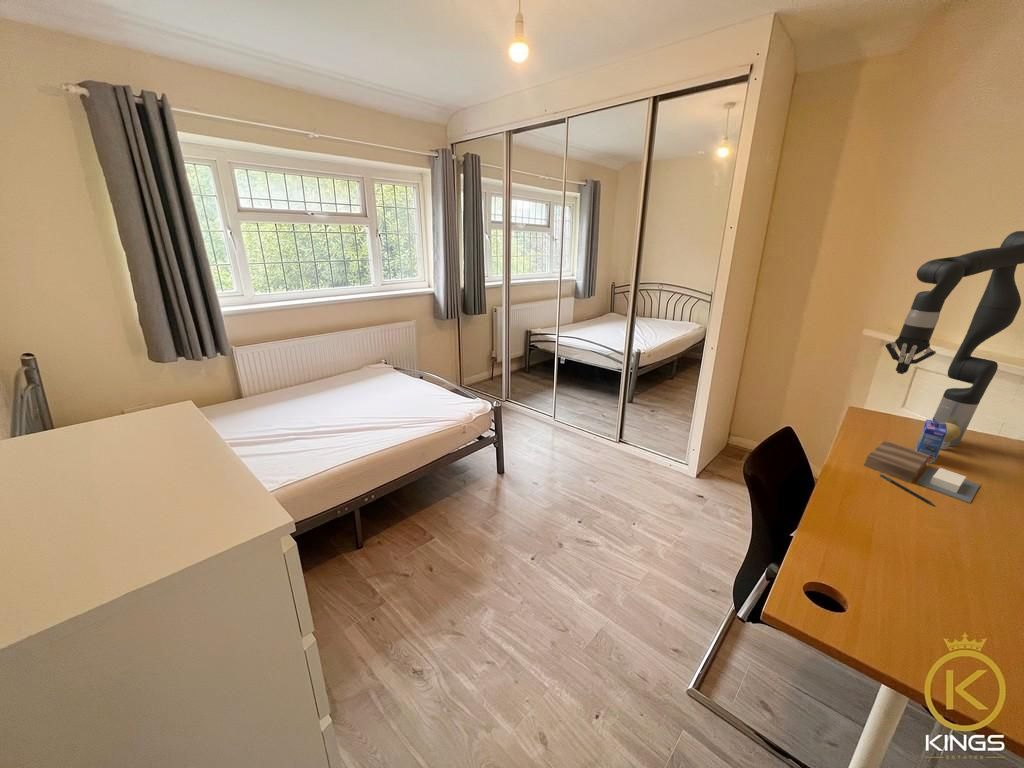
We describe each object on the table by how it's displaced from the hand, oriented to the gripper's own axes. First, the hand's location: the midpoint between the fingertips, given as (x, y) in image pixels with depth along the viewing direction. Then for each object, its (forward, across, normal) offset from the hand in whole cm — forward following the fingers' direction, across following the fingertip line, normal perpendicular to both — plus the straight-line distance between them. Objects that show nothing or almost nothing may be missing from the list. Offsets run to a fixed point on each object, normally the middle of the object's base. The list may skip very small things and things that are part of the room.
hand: (900, 373), depth 139 cm
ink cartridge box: (+29, -13, -7) cm, 33 cm away
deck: (+29, -9, +10) cm, 32 cm away
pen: (+30, -15, +25) cm, 42 cm away
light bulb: (+29, -15, -20) cm, 38 cm away
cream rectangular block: (+27, -22, +10) cm, 36 cm away
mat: (+29, -22, +10) cm, 38 cm away
